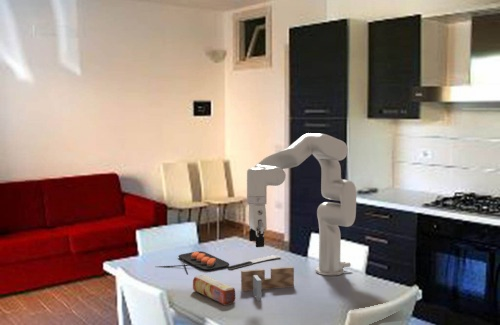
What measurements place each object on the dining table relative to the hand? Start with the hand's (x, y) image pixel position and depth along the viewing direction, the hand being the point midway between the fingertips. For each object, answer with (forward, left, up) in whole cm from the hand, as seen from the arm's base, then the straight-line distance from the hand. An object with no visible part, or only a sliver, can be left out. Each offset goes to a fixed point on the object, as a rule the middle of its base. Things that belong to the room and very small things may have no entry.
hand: (256, 243), depth 204 cm
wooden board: (-7, -10, -22) cm, 25 cm away
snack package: (+16, -6, -22) cm, 28 cm away
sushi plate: (+20, -51, -22) cm, 59 cm away
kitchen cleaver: (-10, -47, -22) cm, 53 cm away
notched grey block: (0, 0, -22) cm, 22 cm away
